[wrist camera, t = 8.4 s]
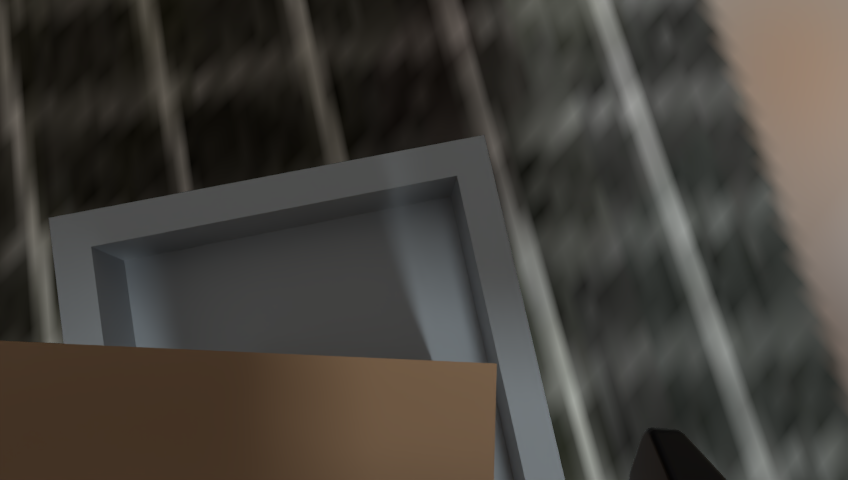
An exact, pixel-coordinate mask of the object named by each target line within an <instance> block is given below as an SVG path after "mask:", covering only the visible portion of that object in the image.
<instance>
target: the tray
mask: <svg viewBox="0 0 848 480" xmlns="http://www.w3.org/2000/svg"><path fill="white" fill-rule="evenodd" d="M49 225H50V233H51V241H52V250H53V258H54V266H55V275H56V283H57V291H58V300H59V308H60V316H61V325H62V333H63V341H64V344H82V345H103V346H125V347H147V348H169V349H191V350H213V351H234V352H256V353H278V354H300V355H322V356H344V357H365V358H387V359H409V360H431V361H453V362H474V363H496V364H497V377H496V416H495V455H494V480H565V478H564V474H563V470H562V465H561V461H560V457H559V453H558V448H557V444H556V440H555V435H554V431H553V427H552V423H551V418H550V414H549V410H548V406H547V401H546V397H545V393H544V388H543V384H542V380H541V376H540V371H539V367H538V363H537V358H536V354H535V350H534V346H533V341H532V337H531V333H530V328H529V324H528V320H527V316H526V311H525V307H524V303H523V299H522V294H521V290H520V286H519V281H518V277H517V273H516V269H515V264H514V260H513V256H512V251H511V247H510V243H509V239H508V234H507V230H506V226H505V221H504V217H503V213H502V209H501V204H500V200H499V196H498V192H497V187H496V183H495V179H494V174H493V170H492V166H491V162H490V157H489V153H488V149H487V144H486V140H485V136H484V135H481V136H476V137H470V138H465V139H460V140H455V141H449V142H444V143H439V144H434V145H429V146H423V147H418V148H413V149H408V150H402V151H397V152H392V153H387V154H381V155H376V156H371V157H366V158H360V159H355V160H350V161H345V162H339V163H334V164H329V165H324V166H318V167H313V168H308V169H303V170H298V171H292V172H287V173H282V174H277V175H271V176H266V177H261V178H256V179H250V180H245V181H240V182H235V183H229V184H224V185H219V186H214V187H208V188H203V189H198V190H193V191H187V192H182V193H177V194H172V195H167V196H161V197H156V198H151V199H146V200H140V201H135V202H130V203H125V204H119V205H114V206H109V207H104V208H98V209H93V210H88V211H83V212H77V213H72V214H67V215H62V216H56V217H51V218H49Z"/></svg>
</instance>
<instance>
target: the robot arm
mask: <svg viewBox="0 0 848 480" xmlns="http://www.w3.org/2000/svg"><path fill="white" fill-rule="evenodd" d="M629 480H726V478H725V477H724V476H723V475H722V474H721V473H720V472H719V471H718V470H717V469H716V468H715V467H714V465H713V464H712V463H711V462H710V461H709V460H708V459H707V458H706V457H705V456H704V455H703V454H702V452H701V451H700V450H699V449H698V448H697V447H696V446H695V445H694V444H693V443H692V442H691V441H690V439H689V438H688V437H687V436H686V435H685V434H684V433H682V432H681V431H679V430H677V429H667V428H648V429H647V430H645V432H644V433H643V435H642V438H641V441H640V444H639V447H638V449H637V452H636V455H635V458H634V461H633V464H632V467H631V471H630V479H629Z"/></svg>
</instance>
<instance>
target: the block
mask: <svg viewBox="0 0 848 480" xmlns="http://www.w3.org/2000/svg"><path fill="white" fill-rule="evenodd" d="M496 377H497V364H496V363H474V362H453V361H431V360H409V359H387V358H365V357H344V356H322V355H300V354H278V353H256V352H234V351H213V350H191V349H169V348H147V347H125V346H103V345H82V344H60V343H38V342H16V341H0V480H494V455H495V416H496Z"/></svg>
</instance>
